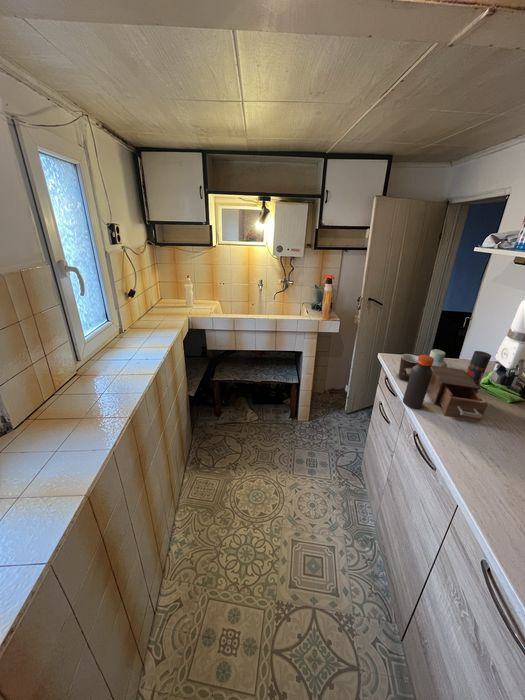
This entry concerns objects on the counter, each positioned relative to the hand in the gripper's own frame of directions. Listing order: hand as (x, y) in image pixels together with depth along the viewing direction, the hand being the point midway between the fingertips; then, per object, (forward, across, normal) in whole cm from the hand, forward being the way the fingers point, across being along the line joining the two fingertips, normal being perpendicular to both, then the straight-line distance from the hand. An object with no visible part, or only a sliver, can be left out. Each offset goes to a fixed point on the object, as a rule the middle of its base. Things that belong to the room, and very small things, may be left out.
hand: (502, 381), depth 103 cm
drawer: (+11, +8, -14) cm, 19 cm away
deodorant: (+12, -18, 0) cm, 22 cm away
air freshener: (+12, -27, -13) cm, 32 cm away
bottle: (+12, +6, -29) cm, 32 cm away
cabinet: (+12, -4, -14) cm, 19 cm away
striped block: (0, 0, 0) cm, 0 cm away
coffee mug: (+12, -14, -26) cm, 32 cm away
